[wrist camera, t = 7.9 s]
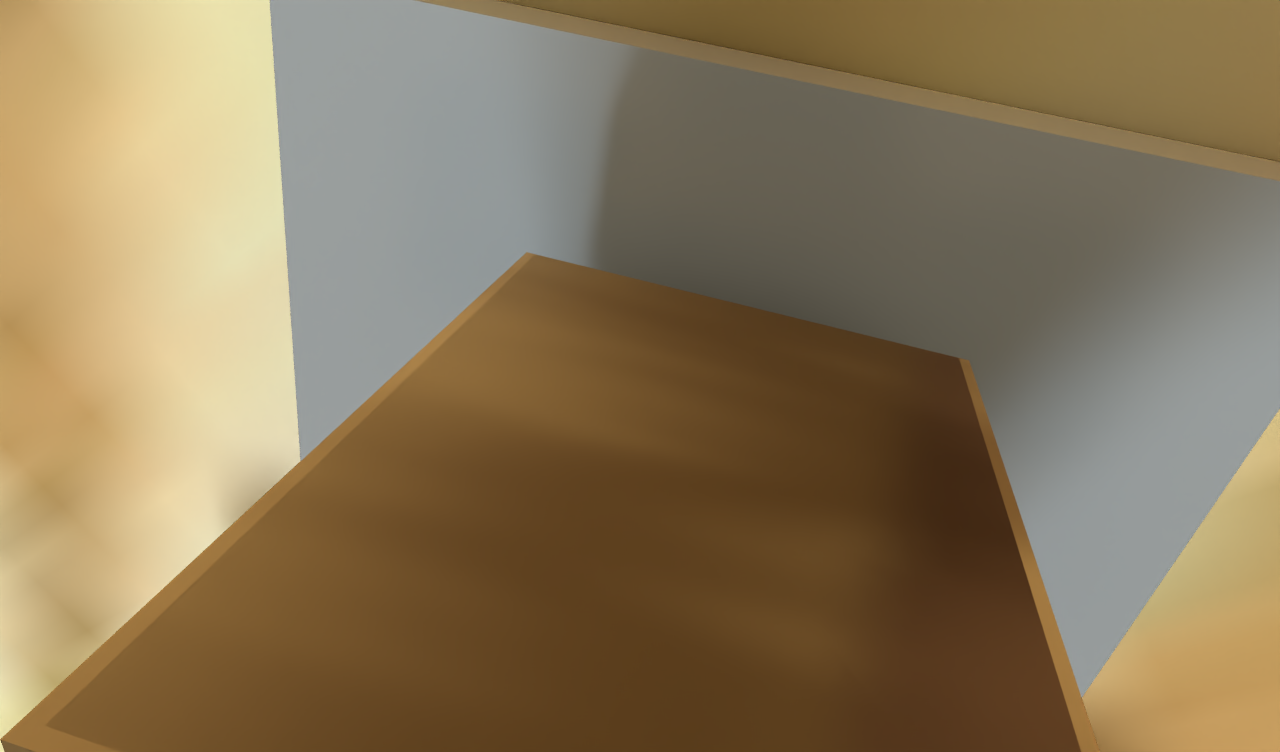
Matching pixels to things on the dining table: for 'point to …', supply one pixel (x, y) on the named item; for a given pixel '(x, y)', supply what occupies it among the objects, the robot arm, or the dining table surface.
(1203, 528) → the dining table surface
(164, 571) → the dining table surface
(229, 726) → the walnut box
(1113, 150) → the trivet
